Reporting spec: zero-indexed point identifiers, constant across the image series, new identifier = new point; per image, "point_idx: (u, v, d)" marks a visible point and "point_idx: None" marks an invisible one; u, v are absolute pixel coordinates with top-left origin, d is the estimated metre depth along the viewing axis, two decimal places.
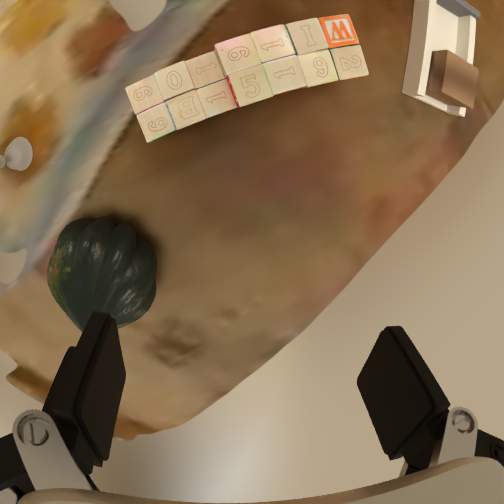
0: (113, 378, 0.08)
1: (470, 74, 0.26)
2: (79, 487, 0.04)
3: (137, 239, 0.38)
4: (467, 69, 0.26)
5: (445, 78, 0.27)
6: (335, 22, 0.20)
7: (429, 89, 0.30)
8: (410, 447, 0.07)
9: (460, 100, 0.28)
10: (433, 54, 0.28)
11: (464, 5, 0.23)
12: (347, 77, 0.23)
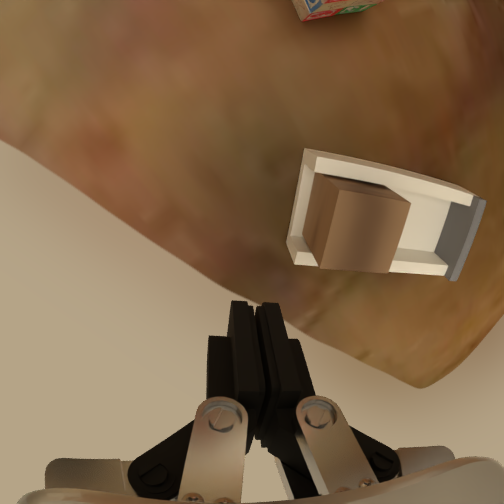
0: None
1: (378, 255, 0.22)
2: (232, 484, 0.05)
3: None
4: (385, 248, 0.22)
5: (363, 196, 0.20)
6: None
7: (329, 179, 0.22)
8: (269, 434, 0.08)
9: (330, 236, 0.21)
10: (387, 189, 0.23)
11: (463, 251, 0.25)
12: None
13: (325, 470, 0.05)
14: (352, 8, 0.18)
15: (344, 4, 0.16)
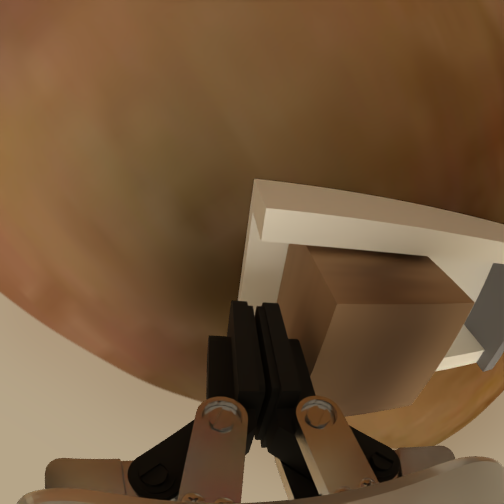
0: None
1: (400, 389, 0.11)
2: (232, 484, 0.05)
3: None
4: (414, 378, 0.11)
5: (389, 310, 0.09)
6: None
7: (317, 258, 0.11)
8: (269, 434, 0.08)
9: (312, 382, 0.10)
10: (426, 264, 0.12)
11: None
12: None
13: (325, 470, 0.05)
14: None
15: None
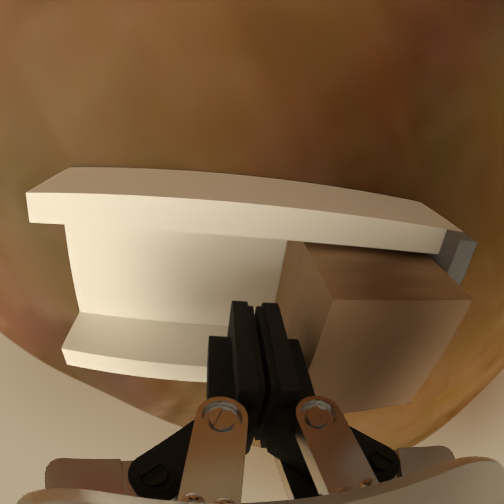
0: None
1: (399, 386, 0.11)
2: (232, 484, 0.05)
3: None
4: (413, 375, 0.11)
5: (386, 306, 0.09)
6: None
7: (315, 254, 0.11)
8: (269, 434, 0.08)
9: None
10: (424, 260, 0.12)
11: None
12: None
13: (325, 470, 0.05)
14: None
15: None
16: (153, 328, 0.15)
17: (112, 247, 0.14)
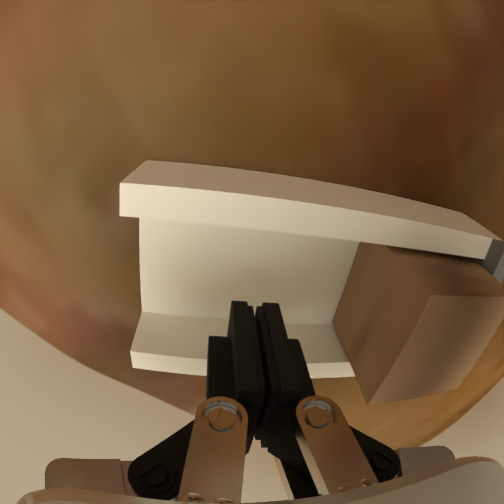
0: None
1: (453, 373, 0.12)
2: (232, 484, 0.05)
3: None
4: (465, 362, 0.11)
5: (462, 301, 0.09)
6: None
7: (400, 257, 0.11)
8: (269, 434, 0.08)
9: (395, 365, 0.11)
10: (474, 264, 0.12)
11: None
12: None
13: (325, 470, 0.05)
14: None
15: None
16: (225, 327, 0.16)
17: (191, 246, 0.14)
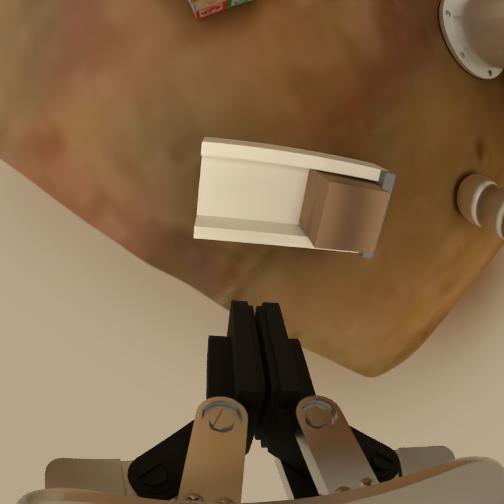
0: None
1: (363, 237, 0.27)
2: (232, 484, 0.05)
3: None
4: (369, 231, 0.27)
5: (349, 187, 0.25)
6: None
7: (321, 174, 0.27)
8: (269, 434, 0.08)
9: (322, 220, 0.26)
10: (370, 183, 0.28)
11: None
12: None
13: (325, 470, 0.05)
14: None
15: None
16: (241, 221, 0.31)
17: (225, 177, 0.29)
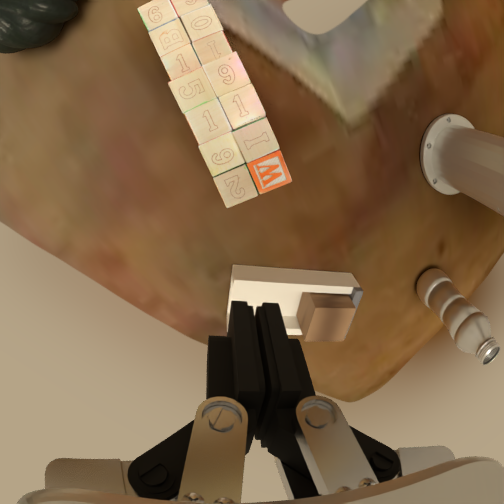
0: None
1: (337, 333, 0.42)
2: (231, 484, 0.05)
3: (60, 24, 0.23)
4: (341, 329, 0.41)
5: (328, 309, 0.39)
6: (279, 167, 0.26)
7: (311, 295, 0.41)
8: (269, 434, 0.08)
9: (310, 327, 0.41)
10: (345, 296, 0.42)
11: None
12: (217, 185, 0.26)
13: (325, 470, 0.05)
14: None
15: None
16: None
17: (247, 291, 0.44)
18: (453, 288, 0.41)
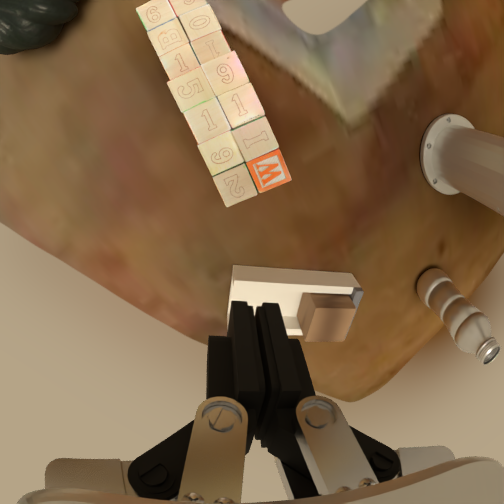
0: None
1: (337, 333, 0.42)
2: (232, 484, 0.05)
3: (59, 25, 0.23)
4: (341, 330, 0.41)
5: (328, 309, 0.39)
6: (278, 166, 0.26)
7: (312, 296, 0.41)
8: (269, 434, 0.08)
9: (310, 327, 0.41)
10: (345, 296, 0.42)
11: None
12: (217, 184, 0.26)
13: (325, 470, 0.05)
14: None
15: None
16: None
17: (248, 291, 0.44)
18: (454, 287, 0.41)
